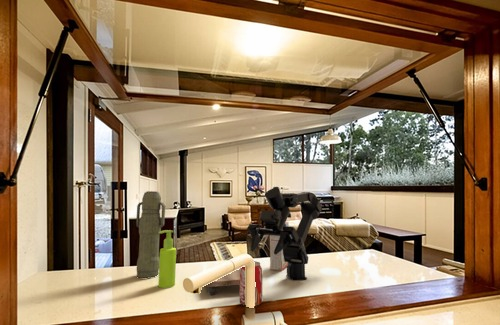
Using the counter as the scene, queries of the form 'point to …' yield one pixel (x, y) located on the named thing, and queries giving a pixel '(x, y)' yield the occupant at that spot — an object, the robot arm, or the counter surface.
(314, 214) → the robot arm
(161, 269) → the soap dispenser
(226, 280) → the tan square tray
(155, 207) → the thermos
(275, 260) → the cracker box
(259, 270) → the soda can
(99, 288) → the counter surface
